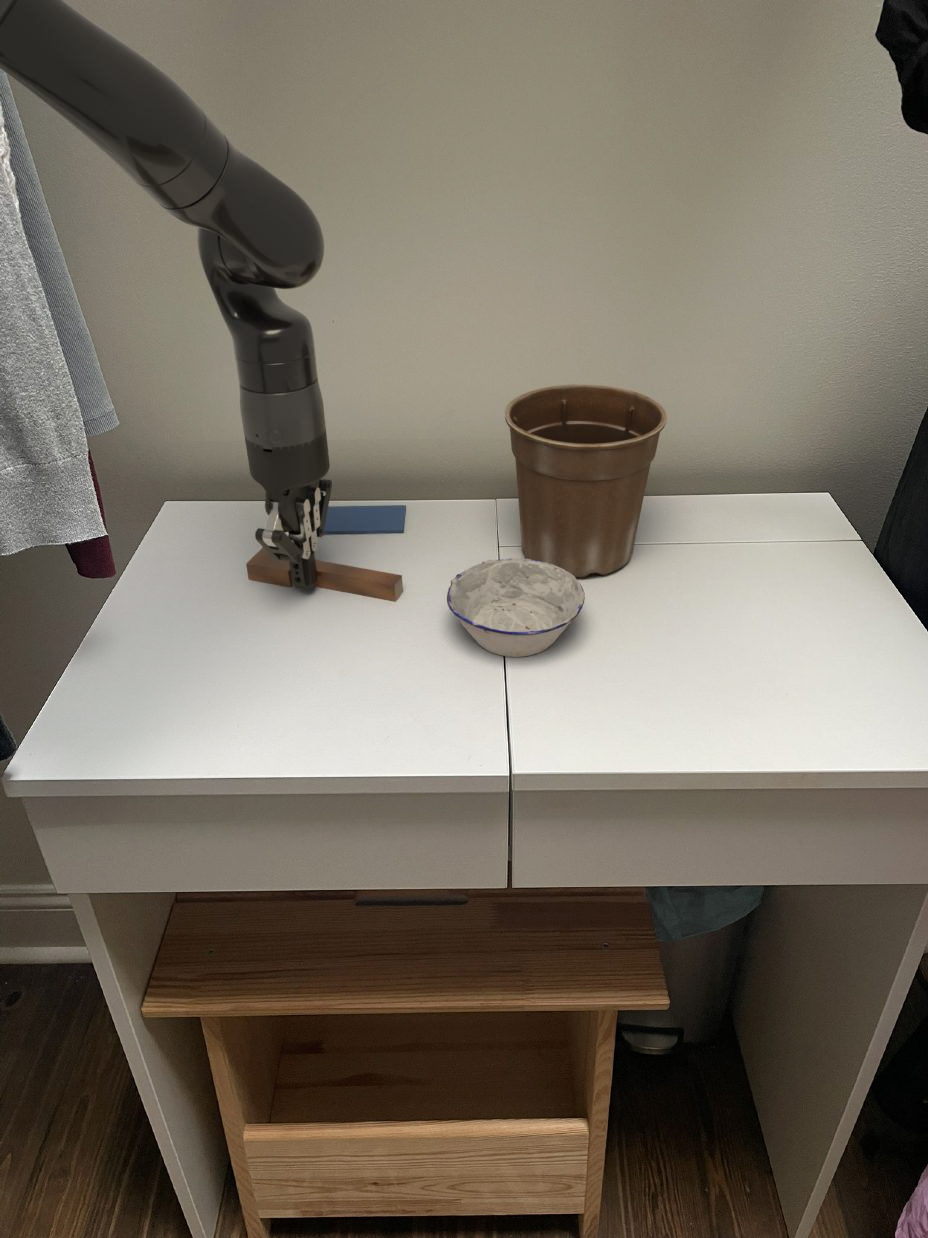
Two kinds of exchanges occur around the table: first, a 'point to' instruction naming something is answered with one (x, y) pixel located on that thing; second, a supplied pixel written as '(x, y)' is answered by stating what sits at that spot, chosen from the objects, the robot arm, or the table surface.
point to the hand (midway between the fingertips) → (305, 584)
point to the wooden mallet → (328, 577)
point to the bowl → (515, 604)
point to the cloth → (365, 519)
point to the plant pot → (582, 472)
